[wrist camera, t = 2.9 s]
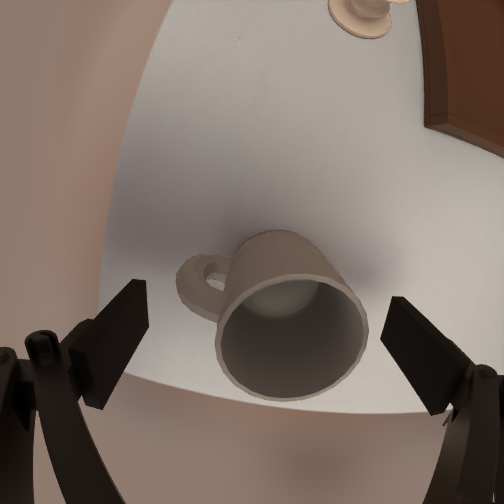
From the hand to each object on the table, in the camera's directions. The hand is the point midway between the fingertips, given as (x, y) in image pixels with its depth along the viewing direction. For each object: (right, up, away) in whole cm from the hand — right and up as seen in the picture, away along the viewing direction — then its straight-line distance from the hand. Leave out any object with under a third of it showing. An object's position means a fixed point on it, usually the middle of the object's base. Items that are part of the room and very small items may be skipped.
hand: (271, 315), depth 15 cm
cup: (-1, +2, +7) cm, 7 cm away
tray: (+22, +24, +1) cm, 32 cm away
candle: (+7, +22, +1) cm, 23 cm away
